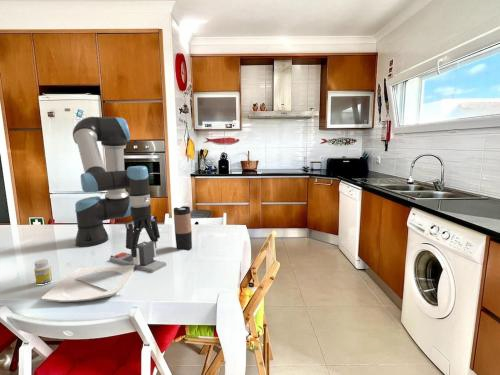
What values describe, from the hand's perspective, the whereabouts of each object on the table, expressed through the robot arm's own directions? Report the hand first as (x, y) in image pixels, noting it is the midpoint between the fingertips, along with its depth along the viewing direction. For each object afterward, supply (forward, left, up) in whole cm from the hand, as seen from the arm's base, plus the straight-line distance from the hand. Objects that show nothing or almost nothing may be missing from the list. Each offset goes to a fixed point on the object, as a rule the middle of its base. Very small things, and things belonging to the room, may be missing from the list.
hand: (145, 260), depth 115 cm
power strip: (-7, 0, -3) cm, 8 cm away
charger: (0, 0, -2) cm, 2 cm away
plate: (-5, -19, -4) cm, 20 cm away
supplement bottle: (-24, -26, -3) cm, 36 cm away
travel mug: (0, +23, -3) cm, 23 cm away
